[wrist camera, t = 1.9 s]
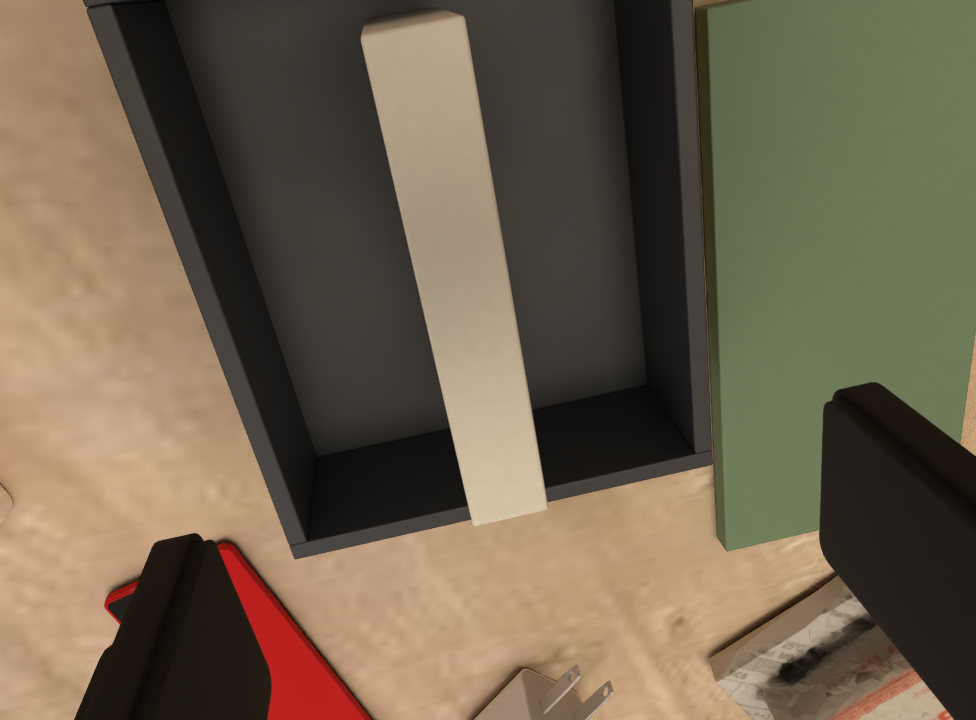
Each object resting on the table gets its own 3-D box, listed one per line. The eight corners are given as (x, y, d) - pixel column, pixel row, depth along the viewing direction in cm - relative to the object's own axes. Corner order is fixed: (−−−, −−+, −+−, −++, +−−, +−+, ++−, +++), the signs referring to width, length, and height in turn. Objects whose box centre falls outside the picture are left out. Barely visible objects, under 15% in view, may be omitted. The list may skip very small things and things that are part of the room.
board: (363, 20, 23) (359, 35, 15) (436, 6, 23) (465, 14, 16) (448, 393, 28) (473, 528, 21) (505, 380, 29) (549, 510, 21)
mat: (694, 7, 24) (706, 8, 23) (1006, -55, 25) (1030, -56, 24) (716, 537, 34) (726, 552, 33) (937, 486, 35) (952, 499, 34)
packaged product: (1126, 513, 30) (1179, 642, 34) (1031, 447, 34) (1089, 569, 39) (742, 743, 33) (835, 836, 37) (699, 656, 37) (787, 748, 42)
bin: (140, -19, 22) (73, -21, 17) (619, -111, 22) (688, -138, 18) (307, 465, 30) (294, 560, 25) (658, 388, 30) (713, 465, 25)
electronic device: (396, 749, 37) (229, 537, 30) (397, 760, 37) (227, 546, 30) (291, 794, 38) (102, 594, 31) (290, 805, 37) (98, 604, 30)
